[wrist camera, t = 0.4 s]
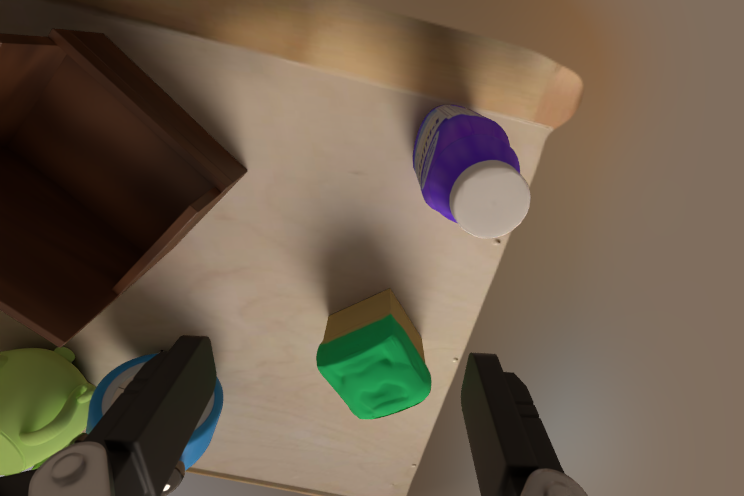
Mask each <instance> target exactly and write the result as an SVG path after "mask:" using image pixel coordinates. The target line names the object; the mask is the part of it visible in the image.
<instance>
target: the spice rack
mask: <svg viewBox="0 0 744 496" xmlns="http://www.w3.org/2000/svg"><path fill="white" fill-rule="evenodd" d="M246 172H247V170H246V169H245V168H244V167H243V166H242V165H241V164H240V163H239V162H238V161H237V160H236V159H235V158H234V157H233V156H231V155H230V154H229V153H228V152H227V151H226V150H225V149H224V148H223V147H222V146H221V145H220V144H219V143H218V142H217V141H216V140H215V139H214V138H213V137H211V136H210V135H209V134H208V133H207V132H206V131H205V130H204V129H203V128H202V127H201V126H200V125H199V124H198V123H197V122H196V121H195V120H194V119H193V118H191V117H190V116H189V115H188V114H187V113H186V112H185V111H184V110H183V109H182V108H181V107H180V106H179V105H178V104H177V103H176V102H175V101H174V100H173V99H171V98H170V97H169V96H168V95H167V94H166V93H165V92H164V91H163V90H162V89H161V88H160V87H159V86H158V85H157V84H156V83H155V82H154V81H153V80H151V79H150V78H149V77H148V76H147V75H146V74H145V73H144V72H143V71H142V70H141V69H140V68H139V67H138V66H137V65H136V64H135V63H134V62H133V61H131V60H130V59H129V58H128V57H127V56H126V55H125V54H124V53H123V52H122V51H121V50H120V49H119V48H118V47H117V46H116V45H115V44H114V43H113V42H111V41H110V40H109V39H108V38H107V37H106V36H105V35H104V34H103V33H94V32H84V31H74V30H65V29H55V28H53V29H52V30H51V32H50V33H49V35H48V37H43V36H29V35H15V34H1V33H0V310H1V311H3V312H4V313H6V314H7V315H9V316H11V317H12V318H14V319H15V320H17V321H18V322H20V323H22V324H23V325H25V326H26V327H28V328H29V329H31V330H33V331H34V332H36V333H37V334H39V335H40V336H42V337H44V338H45V339H47V340H48V341H50V342H51V343H53V344H55V345H56V346H58V347H59V348H61V347H62V346H64V345H65V344H66V343H67V342H68V341H69V340H70V339H71V338H73V337H74V336H75V335H76V334H77V333H78V332H79V331H81V330H82V329H83V328H84V327H85V326H86V325H87V324H88V323H90V322H91V321H92V320H93V319H94V318H95V317H96V316H97V315H99V314H100V313H101V312H102V311H103V310H104V309H105V308H106V307H108V306H109V305H110V304H111V303H112V302H113V301H114V300H115V299H117V298H118V297H119V296H120V295H121V294H122V293H123V292H125V291H126V290H127V289H128V288H129V287H130V286H131V285H132V284H134V283H135V282H136V281H137V280H138V279H139V278H140V277H141V276H143V275H144V274H145V273H146V272H147V271H148V270H149V269H150V268H152V267H153V266H154V265H155V264H156V263H157V262H158V261H159V260H161V259H162V258H163V257H164V256H165V255H166V254H167V253H169V252H170V251H171V250H172V249H173V248H174V247H175V246H176V245H177V244H178V243H179V242H180V241H181V240H182V239H183V238H184V237H185V236H186V234H187V233H188V232H189V231H190V230H191V229H192V228H193V227H194V226H195V225H196V224H197V223H198V222H199V221H200V220H201V219H202V218H203V217H204V216H205V215H206V214H207V213H208V212H209V211H210V210H211V209H212V208H213V207H214V206H215V204H216V203H217V202H218V201H219V200H220V199H221V198H222V197H223V196H224V195H225V194H226V193H227V192H228V191H229V190H230V189H231V188H232V187H233V186H234V185H235V184H236V183H237V182H238V181H239V180H240V179H241V178H242V177H243V176H244V174H245V173H246Z"/></svg>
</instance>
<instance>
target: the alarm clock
mask: <svg viewBox="0 0 744 496" xmlns="http://www.w3.org/2000/svg"><path fill="white" fill-rule="evenodd" d="M161 351H163V350H161ZM157 354H158V353H156V354H149V355H144V356H141V357H137V358H135V359H132V360H130V361H127V362H125V363H123V364H121V365H120V366H118V367H117V368H115V369H114V370H112V371H111V372H110V373H109V374H107V375H106V376H105V377H104V378H103V379H102V381H101V382H100V383H99V384H98V386H97V387H96V389H95V391H94V393H93V395H92V397H91V400H90V404H89V411H88V419H87V427H86V433H81V434H79V435H77V436H76V437H75V438H73V439H72V440H71V441H70V442H69V444H68V445H67V447H68V446H70V445H73V444H76V443H80V442H83V441H84V439H85V438H86V437H87V436H88V434H89V433H90V432H91V431H92V429H93V428H94V427H95V426H96V424H97V423H98V422H99V421H100V419H101V418H102V417H103V416H104V414H105V413H106V412H107V410H108V409H109V408H110V407H111V405H112V404H113V403H114V402H115V400H116V399H117V398H118V397H119V395H120V394H121V393H123V392H124V389H125V388H126V386H127V385H128V384H129V383H130V381H133V378H134V376H135V375H136V374H137V372H138V371H139V370H140V369H141V367H142V366H143V365H144V364H145V363H146V362H147V361H149V360H150V359H151V358H153V357H154V356H156V355H157ZM222 406H223V390H222V386H221V383H220V381H219V379H218V378H217V377H216V385H215V389H214V392H213V395H212V397H211V399H210V401H209V402H208V404H207V406H206V408H205V410H204V412H203V414H202V416H201V418H200V420H199V422H198V424H197V426H196V428H195V430H194V432H193V434H192V436H191V438H190V439H189V441H188V443H187V445H186V447H185V449H184V451H183V453H182V455H181V457H180V459H179V461H178V463H177V465H176V467H175V469H174V471H173V473H172V475H171V476H170V478H169V480H168V482H167V484H166V486H165V488H164V490H163V492H162V494H161V496H166V495H168V494H169V493H171V492H172V491H174V490H175V489H176V488H177V487H178V486H179V484H180V483H181V481H182V479H183V477H184V475H185V470H187V469H188V468H189V467H191V466H192V465H193V464H194V463H195V462H196V461H197V460H198V459H199V458H200V457H201V456H202V454H203V453H204V452H205V450H206V449H207V447H208V445H209V443H210V441H211V439H212V436H213V433H214V430H215V428H216V425H217V422H218V419H219V416H220V413H221V410H222Z"/></svg>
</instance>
